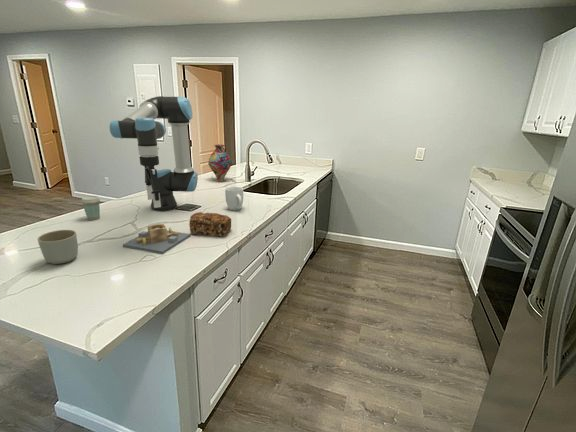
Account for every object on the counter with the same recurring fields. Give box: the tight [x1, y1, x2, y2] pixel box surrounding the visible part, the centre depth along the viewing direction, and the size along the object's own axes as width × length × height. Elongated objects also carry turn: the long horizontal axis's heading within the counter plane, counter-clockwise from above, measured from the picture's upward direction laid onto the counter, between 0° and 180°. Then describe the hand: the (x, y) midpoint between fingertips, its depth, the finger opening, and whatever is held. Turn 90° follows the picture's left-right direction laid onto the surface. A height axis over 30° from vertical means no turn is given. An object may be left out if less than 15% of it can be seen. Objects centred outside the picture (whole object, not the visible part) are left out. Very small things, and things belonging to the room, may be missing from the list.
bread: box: [188, 211, 232, 238], centre depth 159 cm, size 19×11×10 cm, turn 82°
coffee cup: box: [81, 195, 101, 221], centre depth 172 cm, size 8×8×12 cm
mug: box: [224, 186, 244, 211], centre depth 194 cm, size 15×11×13 cm
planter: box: [37, 229, 79, 265], centre depth 126 cm, size 12×12×11 cm
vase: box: [207, 144, 233, 183], centre depth 262 cm, size 19×19×30 cm
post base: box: [122, 227, 192, 255], centre depth 147 cm, size 21×21×6 cm
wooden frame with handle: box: [135, 223, 179, 243], centre depth 147 cm, size 18×7×6 cm, turn 122°
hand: (154, 203), depth 142 cm, fingers open, 13 cm apart
